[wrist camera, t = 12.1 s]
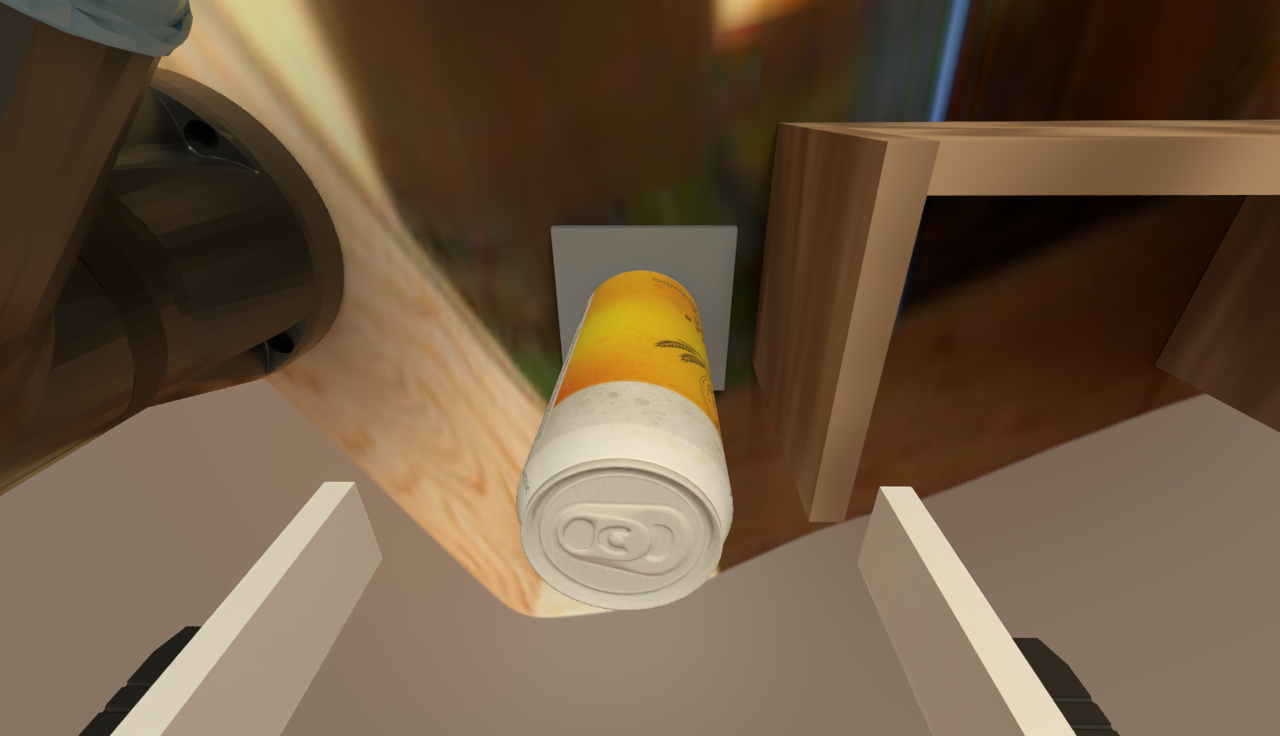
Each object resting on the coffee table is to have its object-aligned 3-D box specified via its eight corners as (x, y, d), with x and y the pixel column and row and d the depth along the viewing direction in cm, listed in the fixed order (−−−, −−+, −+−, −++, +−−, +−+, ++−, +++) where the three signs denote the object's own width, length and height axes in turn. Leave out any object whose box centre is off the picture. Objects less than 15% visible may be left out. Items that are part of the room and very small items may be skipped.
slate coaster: (566, 383, 29) (565, 388, 28) (553, 225, 25) (550, 228, 24) (722, 385, 29) (723, 390, 28) (735, 225, 24) (737, 228, 24)
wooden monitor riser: (751, 362, 28) (808, 521, 17) (778, 122, 22) (887, 141, 12) (1177, 366, 27) (1510, 535, 16) (1317, 119, 21) (1961, 135, 11)
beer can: (688, 379, 28) (711, 631, 14) (580, 364, 28) (503, 605, 14) (710, 275, 25) (765, 470, 12) (590, 257, 25) (506, 434, 11)
